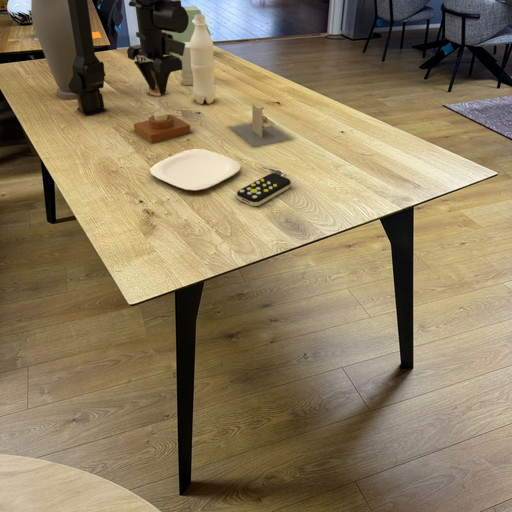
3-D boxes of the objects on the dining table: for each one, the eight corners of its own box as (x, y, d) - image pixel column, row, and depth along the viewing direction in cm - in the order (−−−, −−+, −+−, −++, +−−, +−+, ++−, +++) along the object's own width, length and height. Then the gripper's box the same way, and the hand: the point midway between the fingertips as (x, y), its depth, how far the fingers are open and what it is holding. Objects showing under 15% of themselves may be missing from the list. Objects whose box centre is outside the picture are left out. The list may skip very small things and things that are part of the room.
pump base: (151, 143, 126) (149, 128, 124) (134, 131, 133) (132, 117, 130) (190, 132, 132) (189, 118, 130) (172, 121, 139) (171, 108, 136)
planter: (189, 63, 204) (213, 18, 196) (193, 68, 198) (218, 21, 190) (153, 42, 195) (177, -7, 187) (156, 47, 189) (180, -3, 181)
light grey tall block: (206, 79, 171) (204, 41, 164) (202, 85, 165) (200, 47, 158) (186, 78, 172) (183, 41, 164) (182, 85, 166) (178, 46, 158)
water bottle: (212, 106, 149) (208, 18, 134) (190, 104, 150) (183, 17, 135) (218, 98, 155) (215, 13, 140) (197, 97, 156) (191, 12, 141)
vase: (94, 97, 155) (69, -27, 134) (52, 102, 151) (19, -25, 130) (89, 85, 165) (65, -32, 144) (50, 90, 161) (19, -30, 140)
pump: (158, 123, 128) (157, 116, 127) (152, 119, 131) (151, 112, 130) (170, 120, 130) (169, 113, 129) (163, 116, 132) (163, 110, 131)
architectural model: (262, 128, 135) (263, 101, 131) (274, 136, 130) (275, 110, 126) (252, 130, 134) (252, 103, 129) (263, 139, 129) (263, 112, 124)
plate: (196, 150, 123) (195, 144, 122) (250, 171, 114) (250, 164, 112) (141, 175, 111) (140, 169, 110) (196, 200, 102) (195, 194, 101)
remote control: (293, 187, 107) (293, 179, 106) (255, 208, 100) (255, 200, 99) (272, 178, 111) (272, 170, 109) (234, 198, 103) (233, 190, 102)
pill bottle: (146, 94, 158) (142, 63, 152) (156, 89, 162) (153, 59, 156) (160, 97, 156) (156, 65, 150) (170, 92, 160) (167, 61, 154)
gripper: (198, 30, 115) (203, 95, 124) (160, 18, 126) (167, 78, 136) (157, 36, 109) (165, 104, 118) (121, 23, 121) (131, 85, 130)
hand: (158, 92), depth 126 cm, fingers open, 5 cm apart
